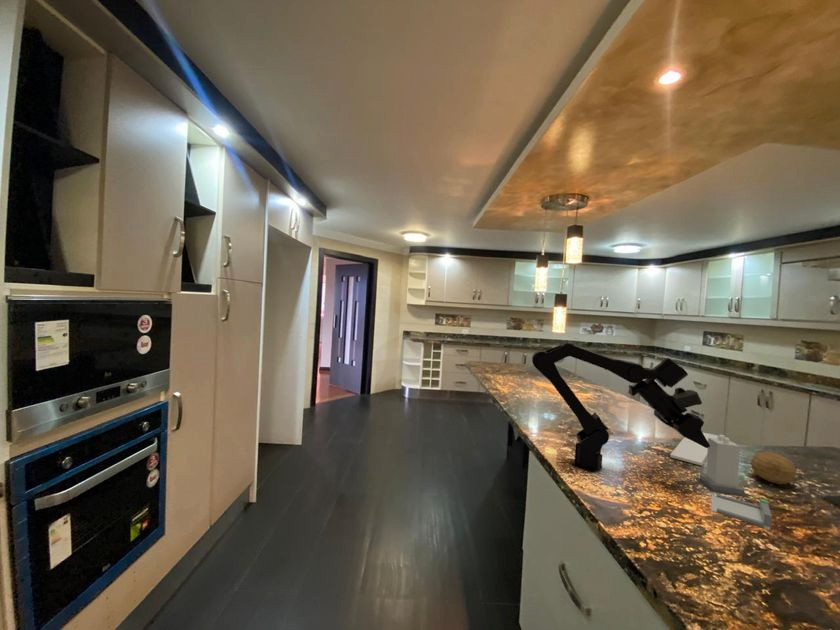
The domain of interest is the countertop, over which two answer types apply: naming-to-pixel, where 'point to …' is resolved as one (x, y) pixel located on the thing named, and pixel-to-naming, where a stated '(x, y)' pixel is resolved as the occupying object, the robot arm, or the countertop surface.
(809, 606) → the countertop surface
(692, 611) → the countertop surface
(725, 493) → the pad
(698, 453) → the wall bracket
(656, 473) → the countertop surface
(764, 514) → the port
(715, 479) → the plug
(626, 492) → the countertop surface
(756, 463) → the potato
